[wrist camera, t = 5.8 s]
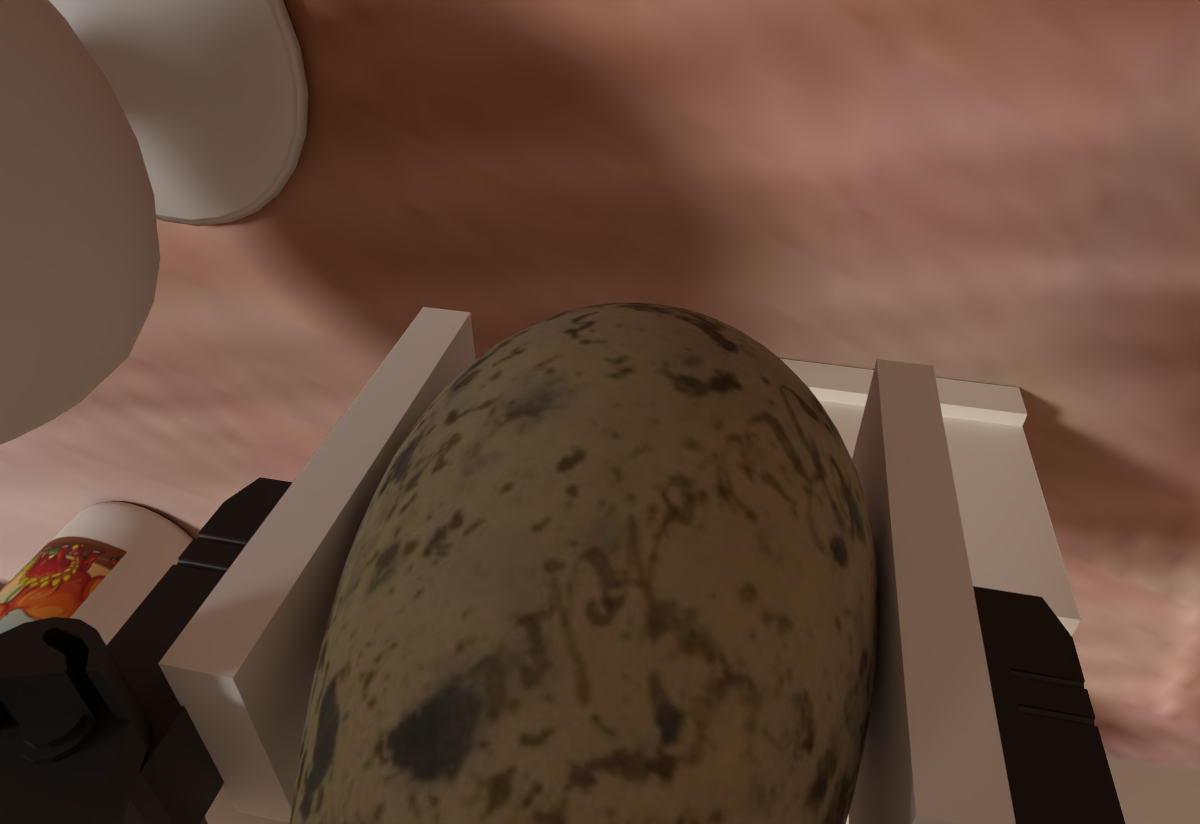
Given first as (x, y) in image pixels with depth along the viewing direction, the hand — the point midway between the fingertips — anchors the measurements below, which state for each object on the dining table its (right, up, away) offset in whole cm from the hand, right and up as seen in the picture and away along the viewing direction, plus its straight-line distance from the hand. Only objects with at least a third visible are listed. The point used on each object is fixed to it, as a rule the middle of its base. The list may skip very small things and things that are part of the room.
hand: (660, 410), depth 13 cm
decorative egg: (0, 0, 0) cm, 1 cm away
